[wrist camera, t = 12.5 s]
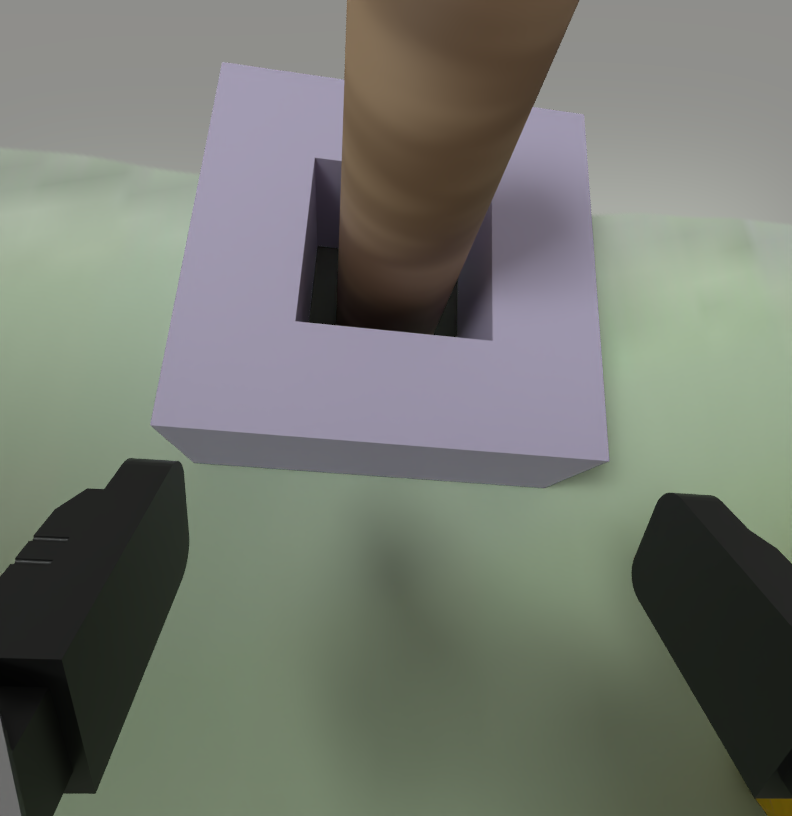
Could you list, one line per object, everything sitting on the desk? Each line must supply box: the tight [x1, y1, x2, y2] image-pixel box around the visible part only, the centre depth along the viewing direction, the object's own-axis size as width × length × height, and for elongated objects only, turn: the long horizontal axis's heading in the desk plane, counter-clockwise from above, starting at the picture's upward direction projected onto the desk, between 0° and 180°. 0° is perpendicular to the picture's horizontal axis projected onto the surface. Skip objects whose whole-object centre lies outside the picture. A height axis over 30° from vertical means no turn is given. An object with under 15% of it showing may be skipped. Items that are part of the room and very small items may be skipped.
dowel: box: [336, 0, 579, 335], centre depth 15 cm, size 4×4×14 cm
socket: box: [150, 62, 609, 488], centre depth 19 cm, size 13×13×5 cm
